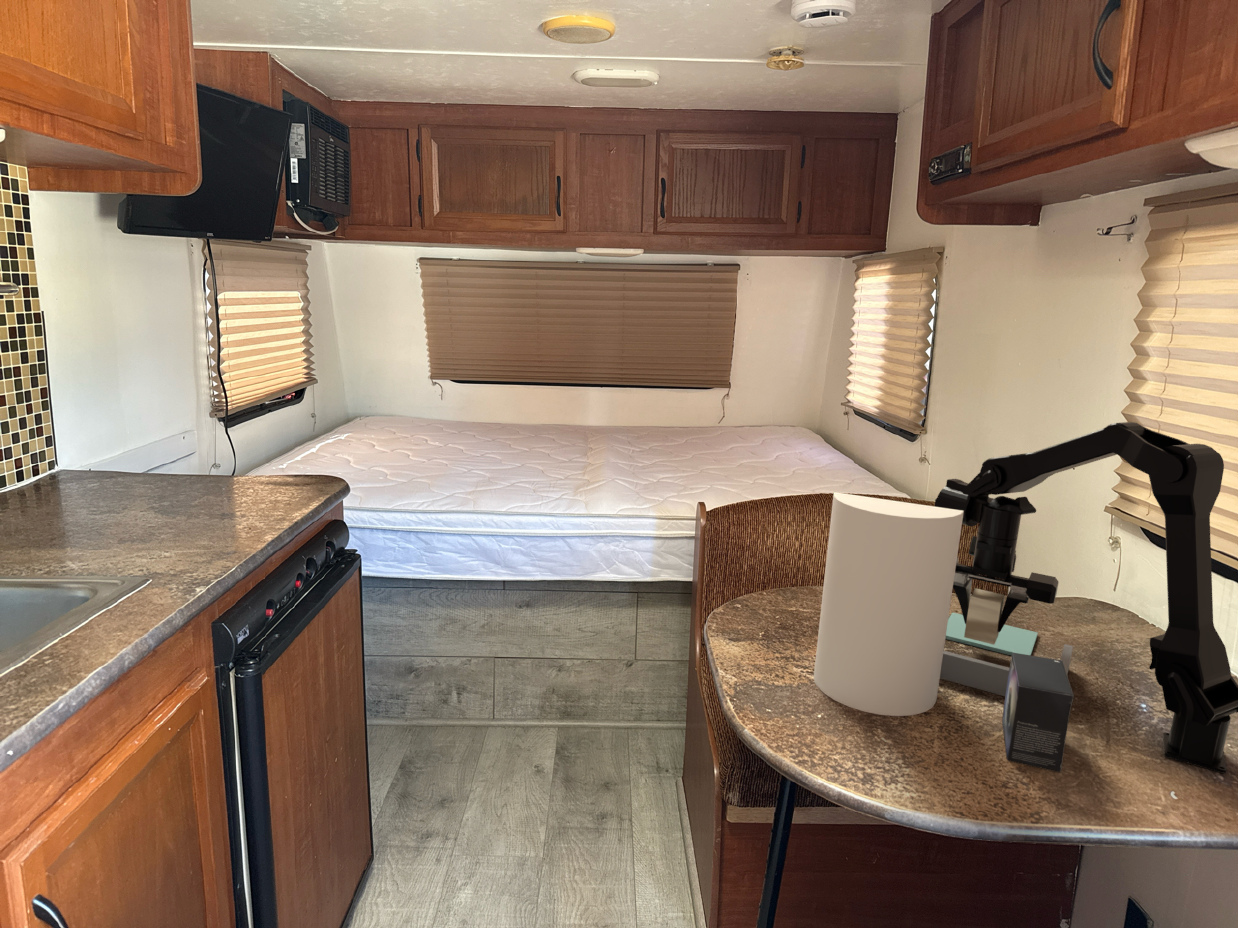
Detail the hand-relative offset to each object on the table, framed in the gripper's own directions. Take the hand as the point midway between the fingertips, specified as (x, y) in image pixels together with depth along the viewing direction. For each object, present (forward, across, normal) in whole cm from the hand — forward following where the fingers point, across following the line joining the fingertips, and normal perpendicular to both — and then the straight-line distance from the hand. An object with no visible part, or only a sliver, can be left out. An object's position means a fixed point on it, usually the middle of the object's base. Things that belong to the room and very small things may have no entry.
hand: (982, 627), depth 130 cm
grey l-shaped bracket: (+5, 0, +5) cm, 7 cm away
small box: (+5, -10, +26) cm, 29 cm away
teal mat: (+5, 0, -9) cm, 10 cm away
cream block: (+2, 0, 0) cm, 2 cm away
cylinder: (+5, +11, +22) cm, 25 cm away
